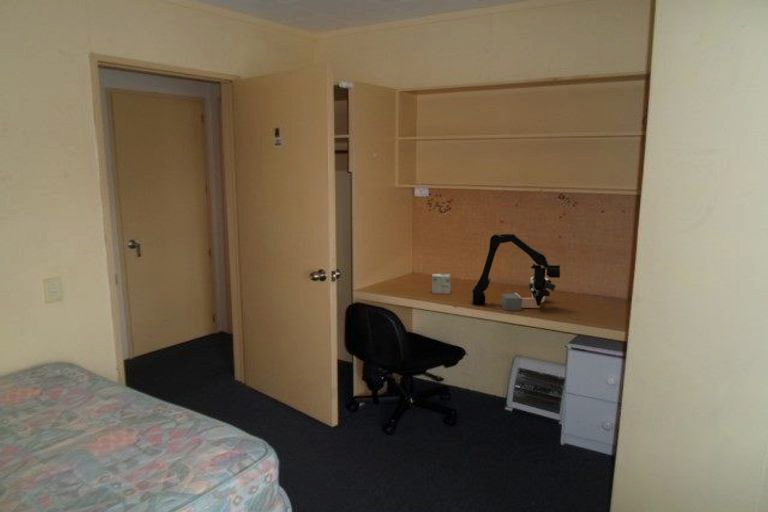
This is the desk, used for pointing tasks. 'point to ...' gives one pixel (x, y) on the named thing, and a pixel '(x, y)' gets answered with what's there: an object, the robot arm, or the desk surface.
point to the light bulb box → (441, 283)
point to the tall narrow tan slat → (529, 303)
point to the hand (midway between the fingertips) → (537, 305)
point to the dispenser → (511, 302)
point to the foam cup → (531, 288)
